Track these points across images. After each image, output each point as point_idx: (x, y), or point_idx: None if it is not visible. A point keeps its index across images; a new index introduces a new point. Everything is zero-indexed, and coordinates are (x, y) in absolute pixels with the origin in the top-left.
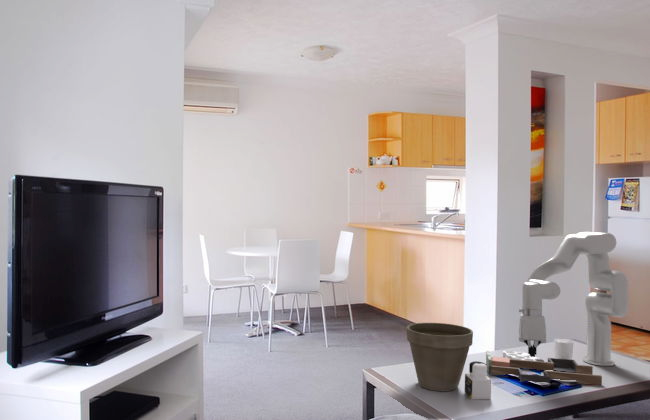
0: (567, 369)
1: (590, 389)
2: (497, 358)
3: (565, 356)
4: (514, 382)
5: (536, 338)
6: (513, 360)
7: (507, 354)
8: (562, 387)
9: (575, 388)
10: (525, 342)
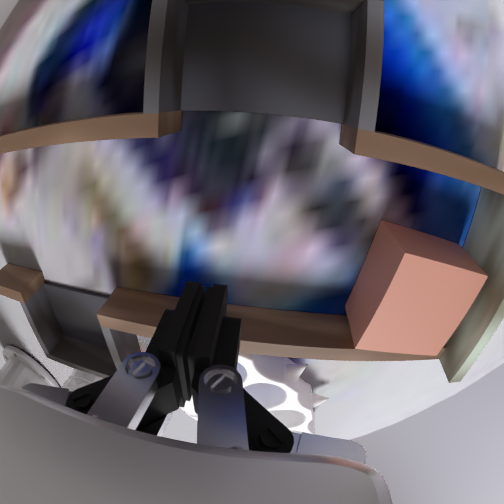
0: (71, 314)
1: (15, 56)
2: (434, 327)
3: (75, 386)
4: (399, 26)
5: (73, 446)
6: (325, 344)
7: (309, 418)
8: (113, 10)
9: (60, 31)
10: (275, 429)
